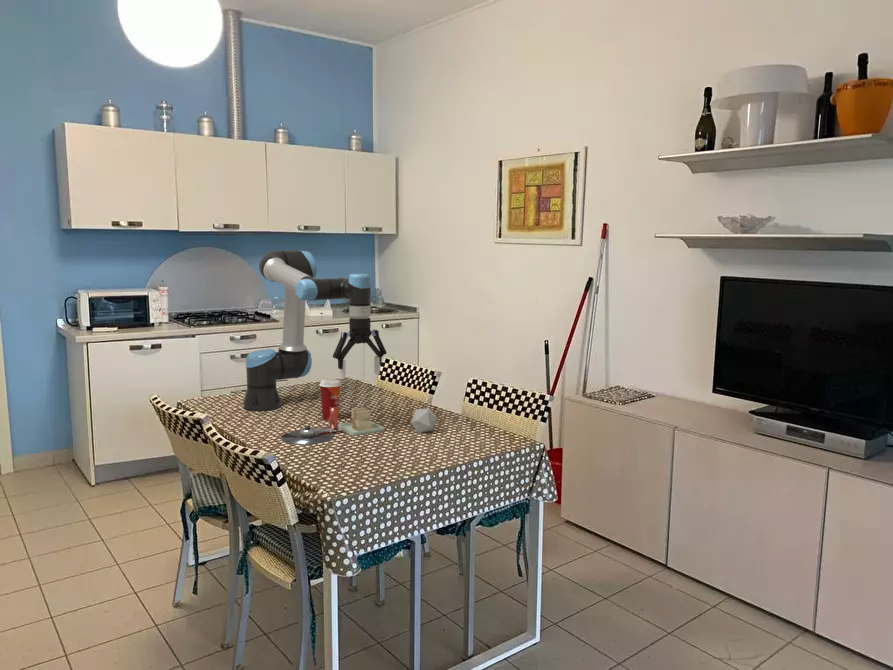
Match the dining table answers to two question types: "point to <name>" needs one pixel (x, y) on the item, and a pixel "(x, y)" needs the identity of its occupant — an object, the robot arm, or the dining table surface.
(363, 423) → the block
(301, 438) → the base plate
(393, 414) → the dining table surface
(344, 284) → the robot arm
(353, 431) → the tray
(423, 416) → the die
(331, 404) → the coffee cup
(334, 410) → the crank
